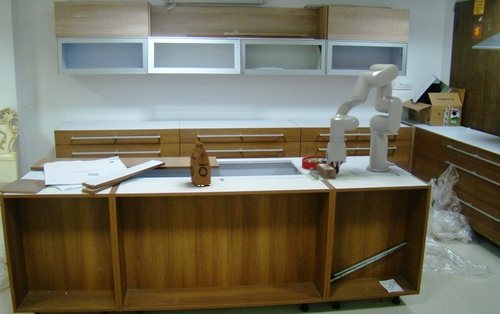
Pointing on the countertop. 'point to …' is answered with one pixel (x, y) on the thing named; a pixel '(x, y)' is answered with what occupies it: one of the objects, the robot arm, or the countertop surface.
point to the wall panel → (339, 176)
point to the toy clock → (313, 162)
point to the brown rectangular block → (326, 171)
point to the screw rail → (314, 173)
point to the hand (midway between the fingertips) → (335, 173)
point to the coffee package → (200, 165)
